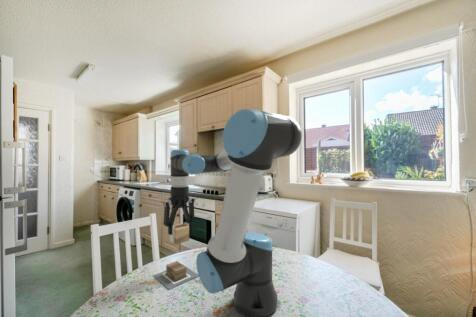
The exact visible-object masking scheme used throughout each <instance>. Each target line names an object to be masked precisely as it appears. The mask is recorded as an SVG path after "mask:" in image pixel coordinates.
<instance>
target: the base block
mask: <svg viewBox="0 0 476 317" xmlns="http://www.w3.org/2000/svg"><path fill="white" fill-rule="evenodd" d="M182 264H183V263H181V262H179V261H176V260H175V261H173V262H171V263H167V264H166V265H165V267H166V268H165V269H166V270H165V271H166V274H167V275H168V276H169V277H171V278H172V279H173V280H174V281H178V280H180V279H182V278H185V277H186V267H187V266H186V265H184V264H183V265H182ZM185 266H186V267H185Z"/></svg>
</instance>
